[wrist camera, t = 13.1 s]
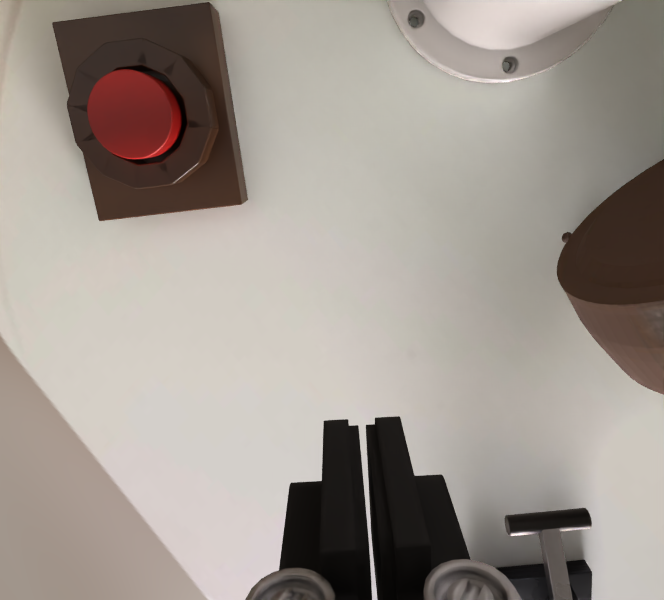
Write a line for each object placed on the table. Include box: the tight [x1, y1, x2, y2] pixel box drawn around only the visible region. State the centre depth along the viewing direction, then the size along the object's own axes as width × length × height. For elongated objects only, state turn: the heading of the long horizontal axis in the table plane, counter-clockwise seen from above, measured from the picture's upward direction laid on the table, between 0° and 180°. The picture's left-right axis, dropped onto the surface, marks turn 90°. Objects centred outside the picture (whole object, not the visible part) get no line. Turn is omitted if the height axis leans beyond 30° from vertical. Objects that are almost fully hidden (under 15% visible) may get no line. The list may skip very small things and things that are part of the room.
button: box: [87, 69, 182, 159], centre depth 26 cm, size 4×4×2 cm
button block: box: [52, 2, 248, 221], centre depth 29 cm, size 10×8×4 cm
